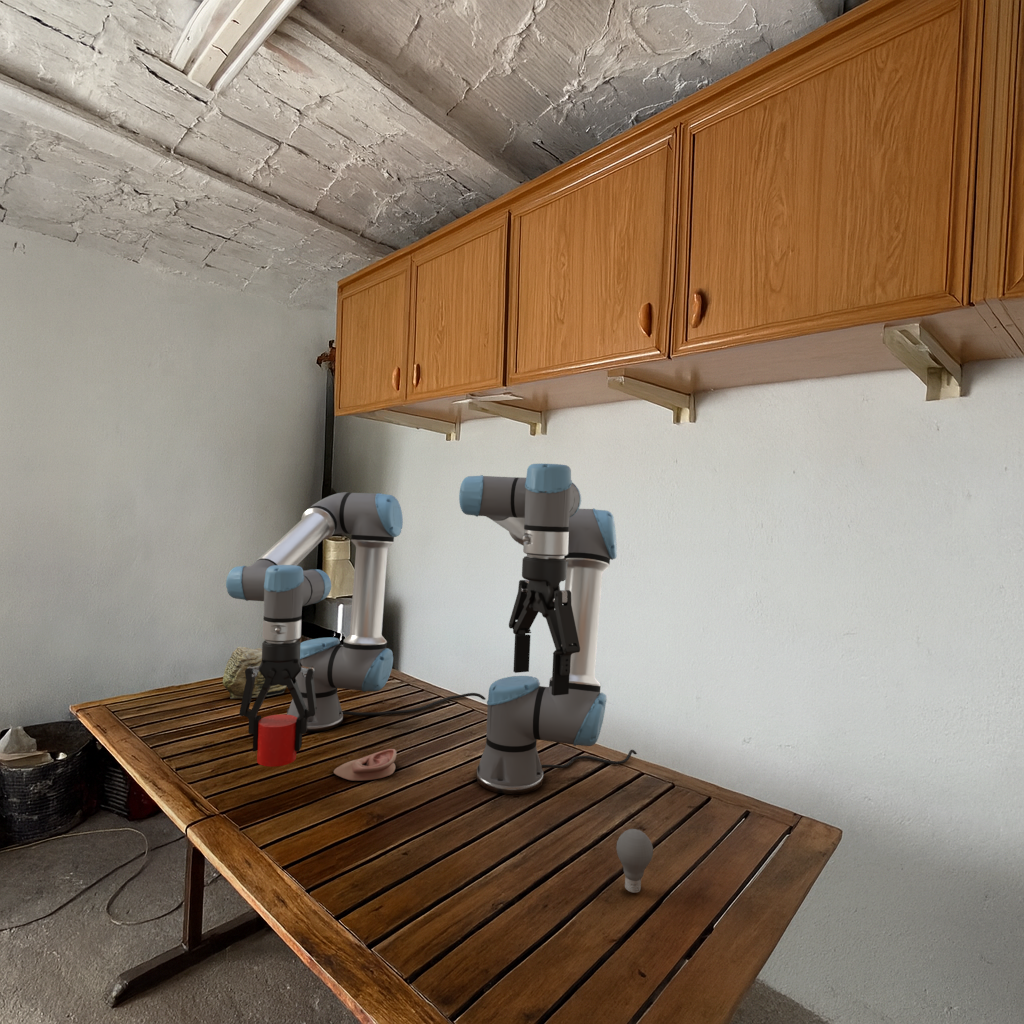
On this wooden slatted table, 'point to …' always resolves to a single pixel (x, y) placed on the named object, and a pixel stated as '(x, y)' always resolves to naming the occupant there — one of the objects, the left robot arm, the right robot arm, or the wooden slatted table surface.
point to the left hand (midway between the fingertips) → (277, 748)
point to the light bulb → (634, 857)
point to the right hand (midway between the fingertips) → (539, 682)
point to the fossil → (236, 673)
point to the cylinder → (276, 740)
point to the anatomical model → (369, 766)
